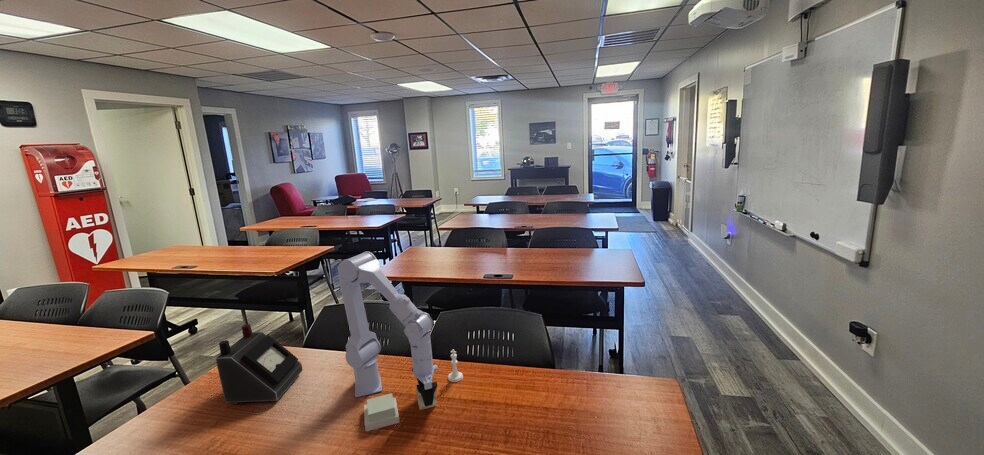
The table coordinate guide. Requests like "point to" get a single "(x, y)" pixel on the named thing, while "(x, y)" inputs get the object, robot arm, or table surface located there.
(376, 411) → the tower top
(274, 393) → the voltmeter
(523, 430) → the table surface
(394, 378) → the table surface
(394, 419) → the tower base
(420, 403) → the maple cube
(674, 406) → the table surface
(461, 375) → the chess piece
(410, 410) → the table surface
